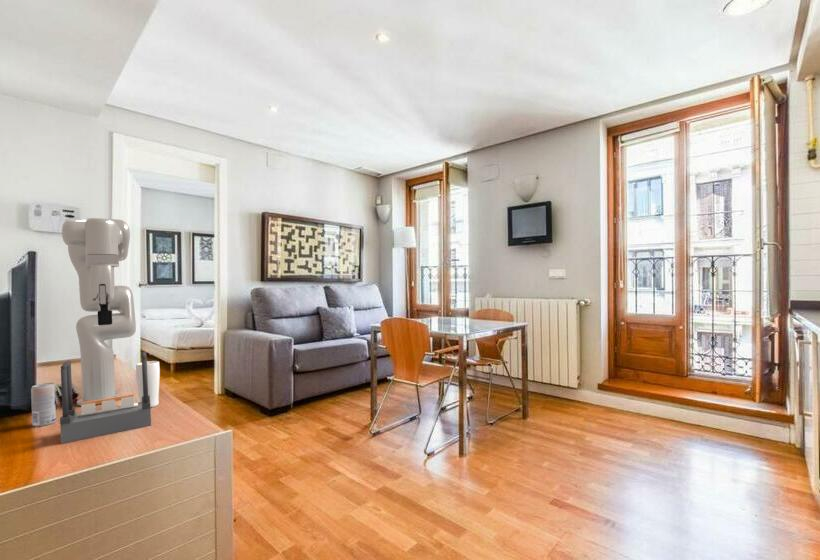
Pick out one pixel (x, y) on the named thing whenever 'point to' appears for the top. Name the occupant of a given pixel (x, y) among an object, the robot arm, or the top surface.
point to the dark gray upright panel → (66, 394)
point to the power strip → (105, 423)
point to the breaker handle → (107, 405)
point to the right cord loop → (145, 383)
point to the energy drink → (43, 404)
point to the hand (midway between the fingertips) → (105, 324)
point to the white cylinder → (149, 381)
